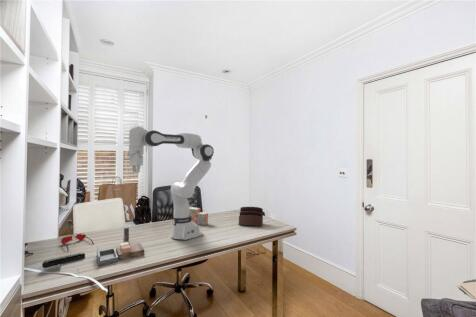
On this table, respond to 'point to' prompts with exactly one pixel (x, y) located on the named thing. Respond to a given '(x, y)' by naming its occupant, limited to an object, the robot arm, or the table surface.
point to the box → (106, 256)
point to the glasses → (67, 239)
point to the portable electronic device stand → (63, 260)
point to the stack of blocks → (198, 216)
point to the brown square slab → (135, 251)
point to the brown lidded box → (251, 216)
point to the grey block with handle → (126, 235)
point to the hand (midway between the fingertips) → (136, 172)
